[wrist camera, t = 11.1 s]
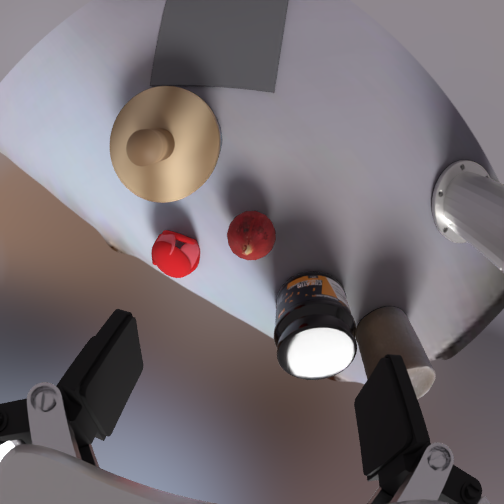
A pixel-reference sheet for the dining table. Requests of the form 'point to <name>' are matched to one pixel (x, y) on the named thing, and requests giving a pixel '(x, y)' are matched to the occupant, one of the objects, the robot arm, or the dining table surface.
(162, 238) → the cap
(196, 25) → the mat
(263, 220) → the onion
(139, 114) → the lid
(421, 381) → the pillar candle
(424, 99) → the dining table surface
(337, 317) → the supplement container
